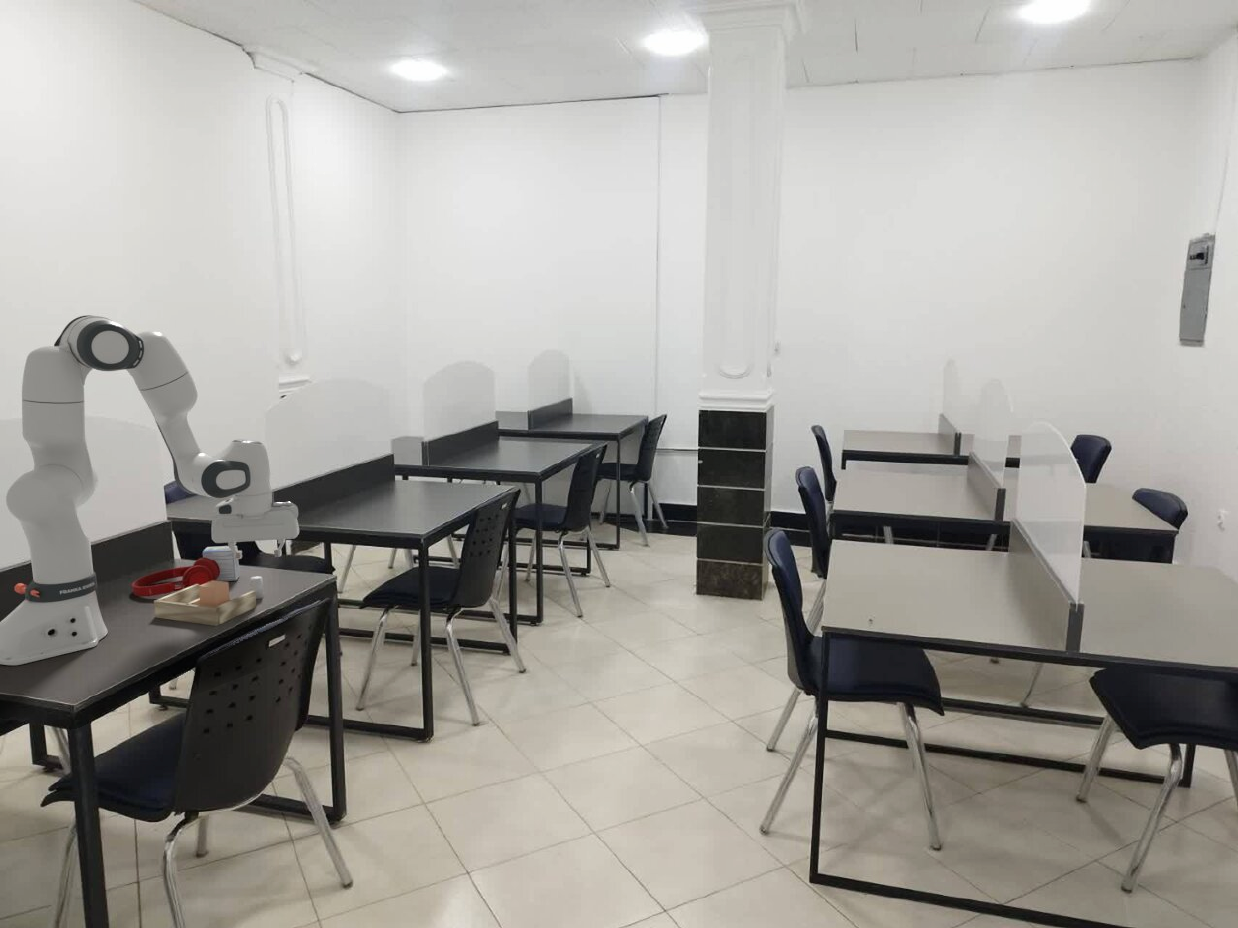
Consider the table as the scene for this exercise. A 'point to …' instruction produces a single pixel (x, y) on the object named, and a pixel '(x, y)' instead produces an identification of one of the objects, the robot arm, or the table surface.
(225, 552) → the medicine box
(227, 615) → the lane shelf
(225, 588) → the block
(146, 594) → the headphones
